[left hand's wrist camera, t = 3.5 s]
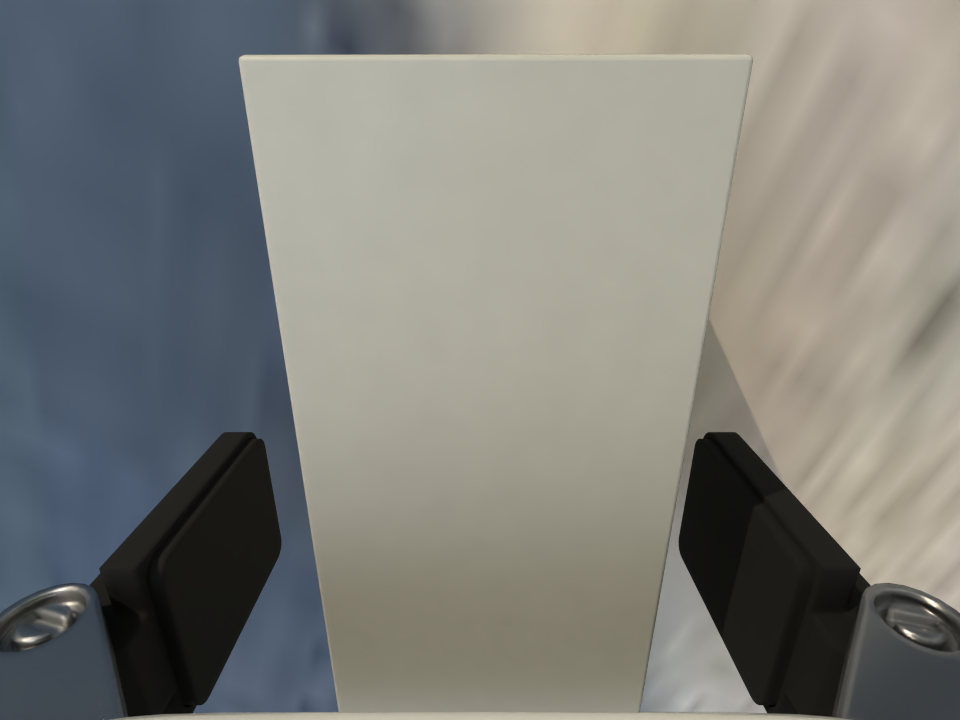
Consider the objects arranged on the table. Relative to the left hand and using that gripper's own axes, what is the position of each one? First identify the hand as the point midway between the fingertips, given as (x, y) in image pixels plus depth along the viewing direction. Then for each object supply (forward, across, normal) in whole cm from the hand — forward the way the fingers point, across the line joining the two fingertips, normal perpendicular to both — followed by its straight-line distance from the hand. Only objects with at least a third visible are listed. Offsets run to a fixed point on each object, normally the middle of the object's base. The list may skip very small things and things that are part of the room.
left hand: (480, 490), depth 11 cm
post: (+4, 0, -29) cm, 29 cm away
